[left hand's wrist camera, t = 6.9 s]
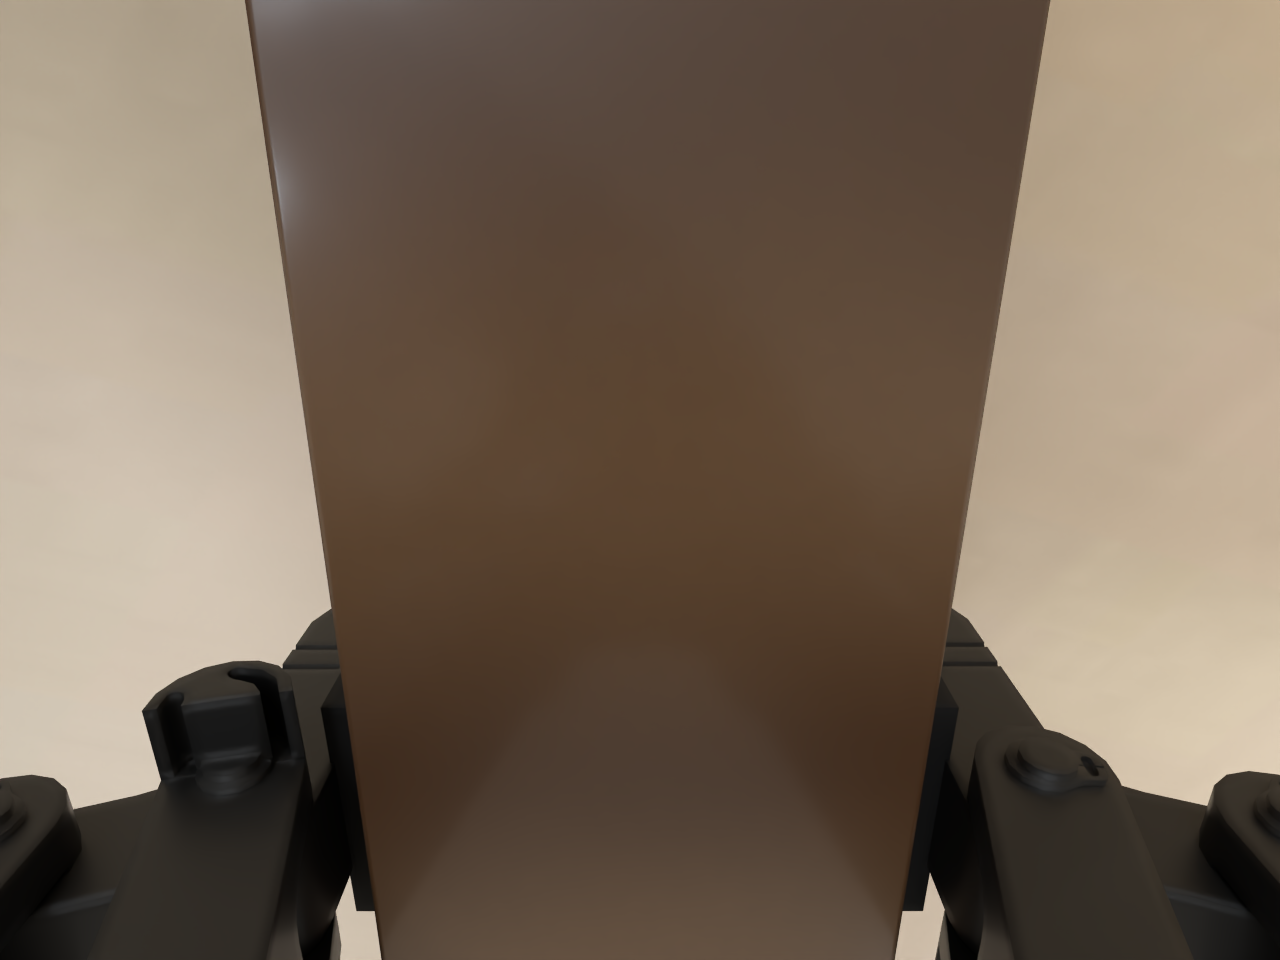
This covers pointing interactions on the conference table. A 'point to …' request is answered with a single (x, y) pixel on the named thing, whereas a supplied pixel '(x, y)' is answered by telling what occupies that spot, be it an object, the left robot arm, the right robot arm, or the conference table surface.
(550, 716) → the post
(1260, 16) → the conference table surface
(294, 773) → the left robot arm
